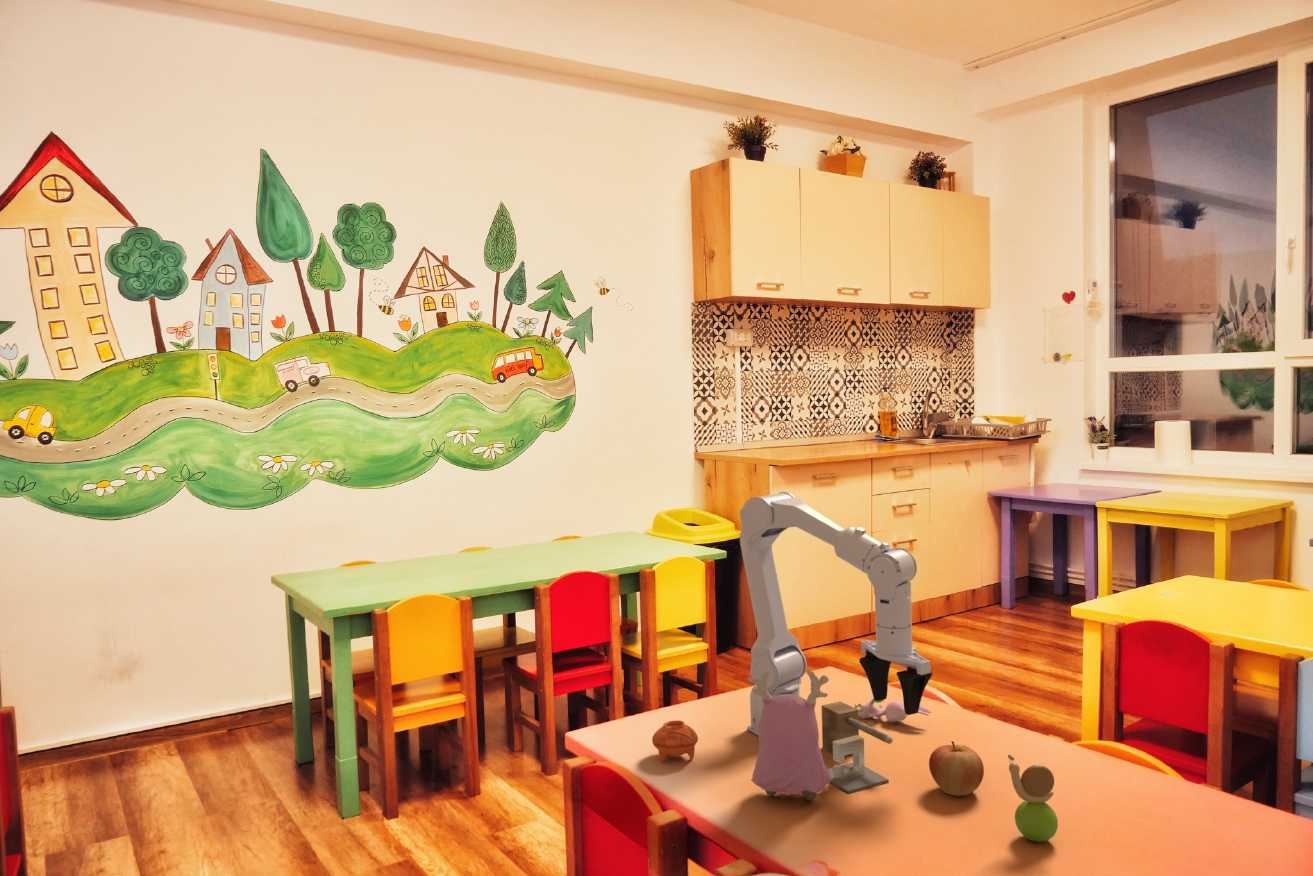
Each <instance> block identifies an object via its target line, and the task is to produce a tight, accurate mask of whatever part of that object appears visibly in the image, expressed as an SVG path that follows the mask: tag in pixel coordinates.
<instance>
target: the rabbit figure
mask: <svg viewBox="0 0 1313 876" xmlns="http://www.w3.org/2000/svg"><path fill="white" fill-rule="evenodd" d="M884 701H885V699H884V700H879V701H875V700H874V697H873V698H872V699H871V700H870V701H869V702H866V703H865V704H861V703H858V704H857V705H856V703H854V708H856V709H858V718H860V720H861V719H862V720H866V719H872V718H874V717H875V718H881V717H883V716H885V718H886V720H887V721H888V722H890V723H892V724H893V723H898V721H899V722H900V721H901V722H902V721H904V720H906V719H907V716H908V715H907V714H906V713H905V710H904V701H899V700H893V701H891V702H889V703H887V705H886V706H884V705H883V704H881V703H882V702H884ZM875 703H876V704H878V703H880V704H879V705H878V706H879V707H877V706H876V705H875ZM858 707H859V708H858ZM931 713H932V711H931V710H930V709H929V708H927V707H926V706H925V705H922V704H920V706H919V710H918V713H917V714H921V715H924V716H928V717H929V714H931Z"/></svg>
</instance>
